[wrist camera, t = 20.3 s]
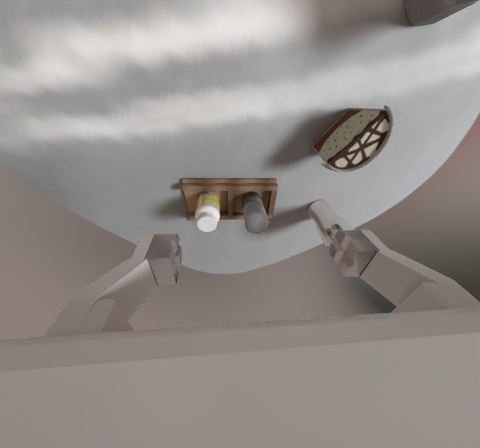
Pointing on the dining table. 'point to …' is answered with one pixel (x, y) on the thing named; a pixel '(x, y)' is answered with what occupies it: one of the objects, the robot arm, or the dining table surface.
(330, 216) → the beer glass
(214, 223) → the supplement bottle
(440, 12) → the coffeepot
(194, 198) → the wooden compartment tray
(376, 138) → the food container
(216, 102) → the dining table surface
